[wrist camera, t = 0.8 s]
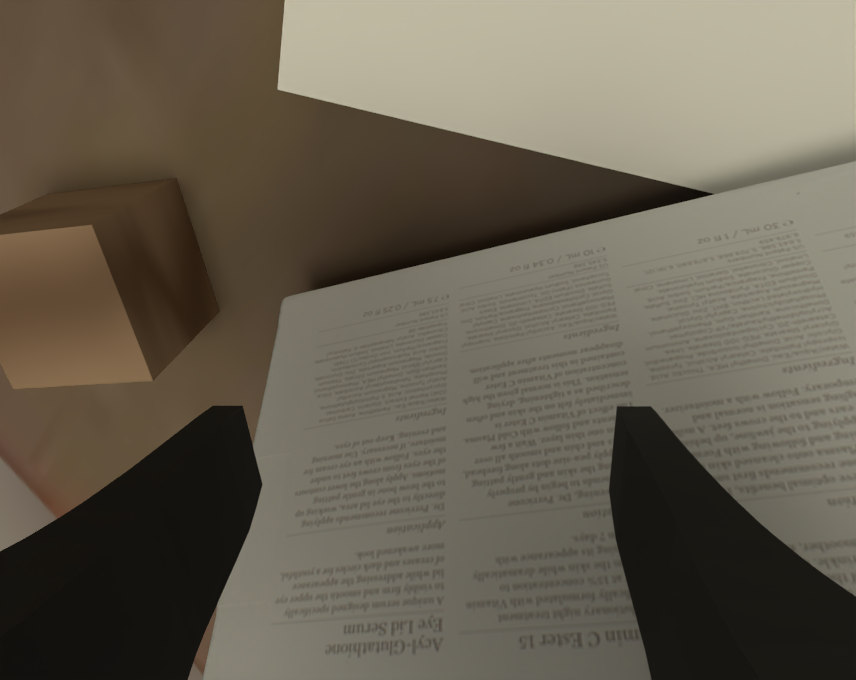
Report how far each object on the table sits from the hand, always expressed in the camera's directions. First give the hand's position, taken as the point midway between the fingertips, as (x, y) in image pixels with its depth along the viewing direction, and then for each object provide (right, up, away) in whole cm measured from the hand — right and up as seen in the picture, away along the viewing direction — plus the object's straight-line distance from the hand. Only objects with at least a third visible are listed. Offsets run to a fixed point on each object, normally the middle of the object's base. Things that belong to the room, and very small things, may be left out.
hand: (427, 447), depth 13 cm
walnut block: (-11, +5, +11) cm, 16 cm away
